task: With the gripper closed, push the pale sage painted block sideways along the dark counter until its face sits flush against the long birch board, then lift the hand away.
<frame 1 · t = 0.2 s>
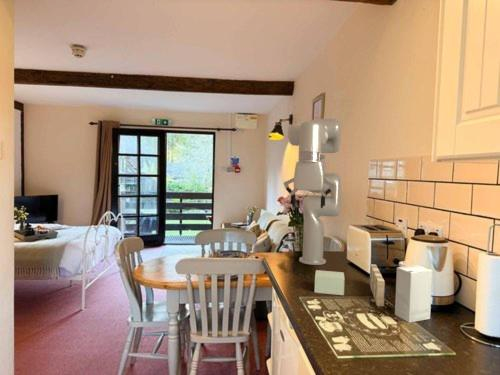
hand: (307, 207, 123), 30 cm above the counter, tool pointing down, fingers open, 9 cm apart
birch board: (376, 294, 123), on the counter
skincare box: (412, 318, 104), on the counter
smoothie: (406, 289, 130), on the counter
sage block: (329, 290, 126), on the counter
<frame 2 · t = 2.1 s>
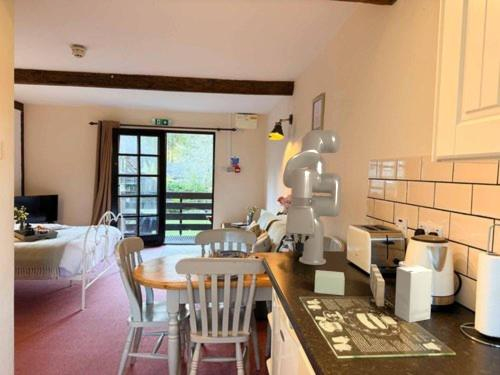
hand: (299, 253, 128), 13 cm above the counter, tool pointing down, fingers closed
nothing on the counter moved.
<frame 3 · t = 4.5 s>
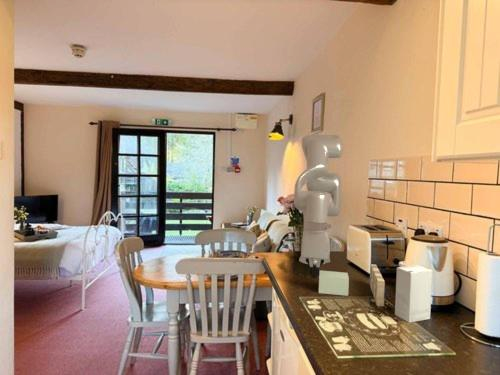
hand: (314, 277, 127), 4 cm above the counter, tool pointing down, fingers closed
sage block: (333, 291, 126), on the counter, touching gripper
everything else where it was.
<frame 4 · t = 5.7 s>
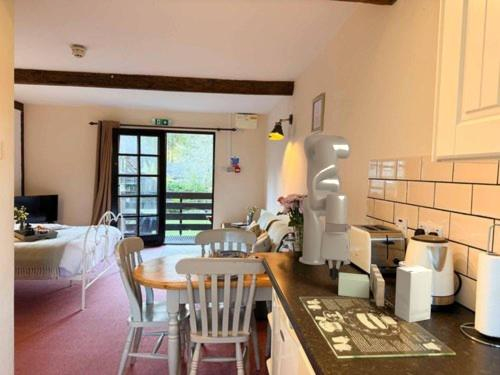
hand: (333, 278, 126), 4 cm above the counter, tool pointing down, fingers closed
sage block: (352, 293, 124), on the counter
everything else where it was.
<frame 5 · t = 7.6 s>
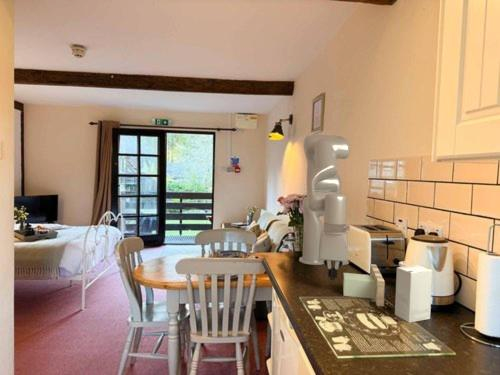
hand: (332, 279, 126), 4 cm above the counter, tool pointing down, fingers closed
sage block: (358, 293, 124), on the counter
everything else where it was.
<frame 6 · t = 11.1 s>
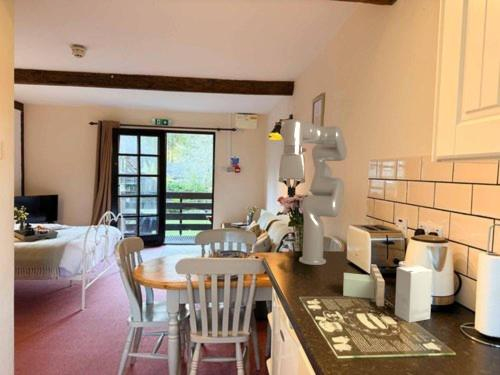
hand: (291, 197, 140), 32 cm above the counter, tool pointing down, fingers closed
nothing on the counter moved.
at the end: sage block 0.5 cm from the target spot on the counter beside the birch board, on the counter; sage block tilted 0° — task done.
